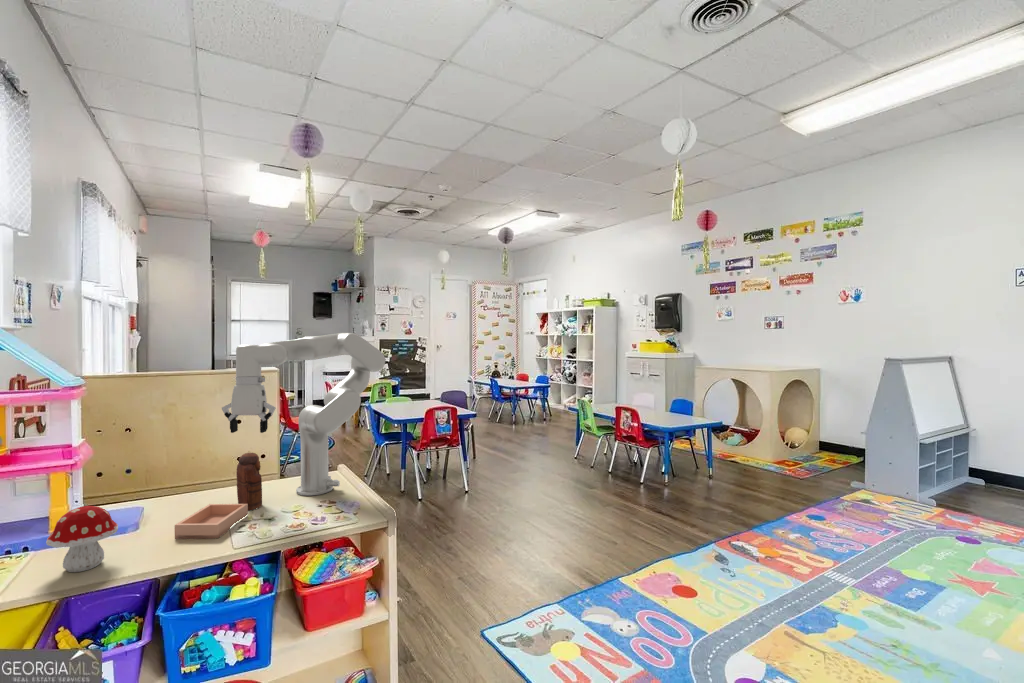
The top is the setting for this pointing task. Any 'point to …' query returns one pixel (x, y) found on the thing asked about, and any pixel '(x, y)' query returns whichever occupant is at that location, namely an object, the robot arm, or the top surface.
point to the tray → (210, 521)
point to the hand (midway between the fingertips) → (248, 432)
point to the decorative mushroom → (82, 536)
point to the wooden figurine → (249, 481)
